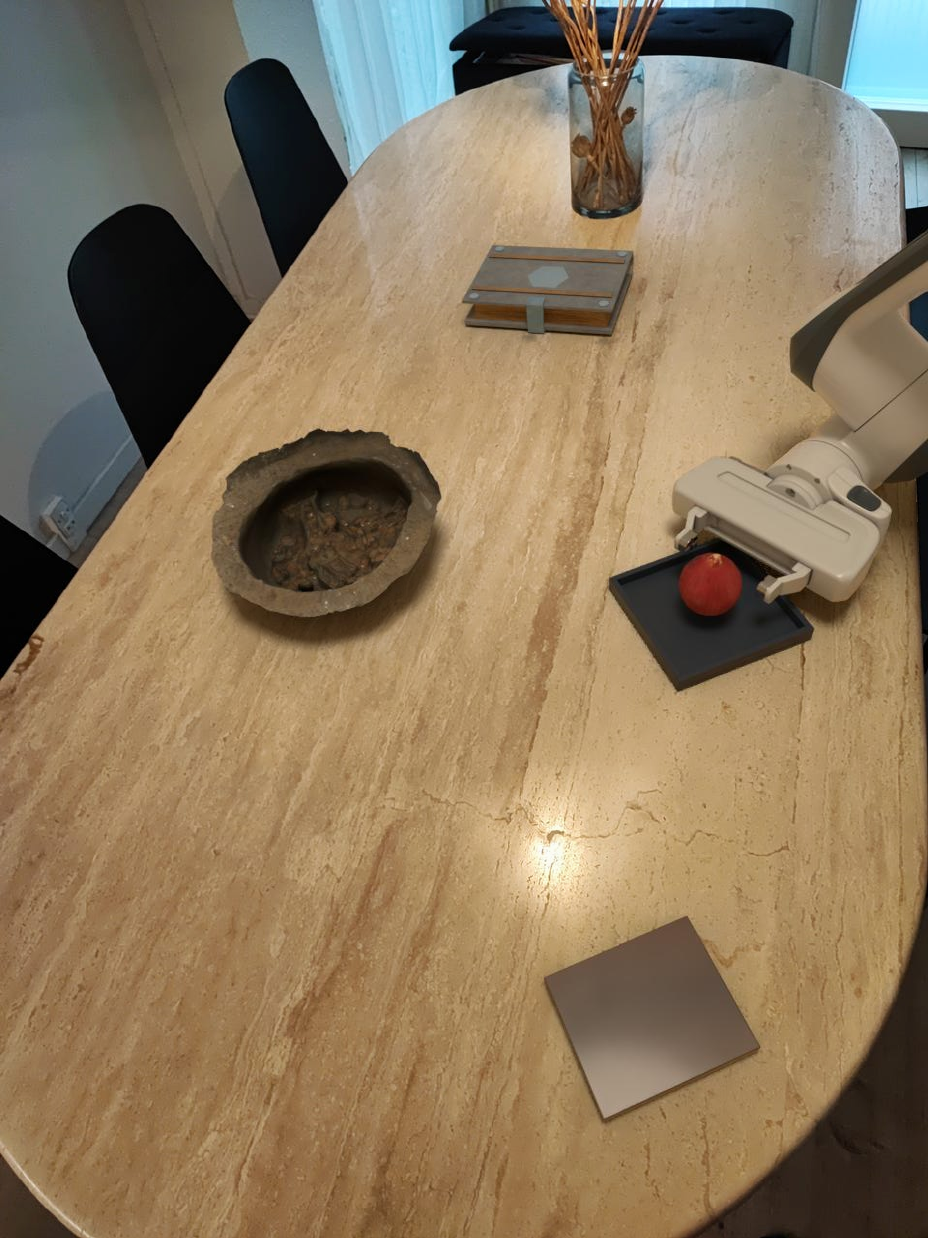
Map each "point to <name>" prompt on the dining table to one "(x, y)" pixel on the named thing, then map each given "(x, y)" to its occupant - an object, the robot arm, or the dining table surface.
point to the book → (550, 289)
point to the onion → (710, 584)
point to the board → (649, 1017)
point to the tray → (706, 618)
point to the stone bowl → (323, 522)
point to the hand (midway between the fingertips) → (719, 570)
